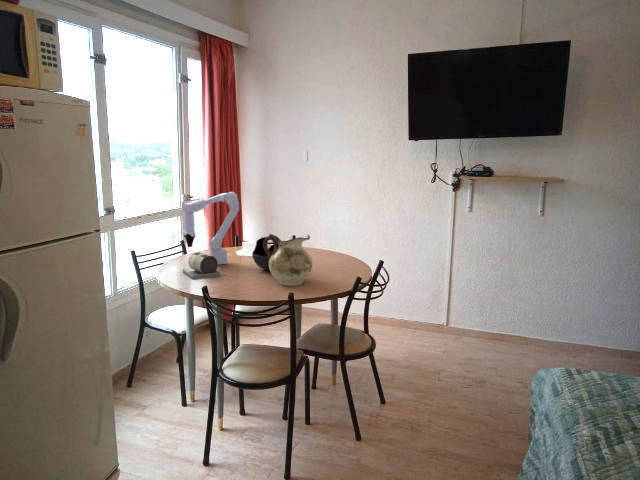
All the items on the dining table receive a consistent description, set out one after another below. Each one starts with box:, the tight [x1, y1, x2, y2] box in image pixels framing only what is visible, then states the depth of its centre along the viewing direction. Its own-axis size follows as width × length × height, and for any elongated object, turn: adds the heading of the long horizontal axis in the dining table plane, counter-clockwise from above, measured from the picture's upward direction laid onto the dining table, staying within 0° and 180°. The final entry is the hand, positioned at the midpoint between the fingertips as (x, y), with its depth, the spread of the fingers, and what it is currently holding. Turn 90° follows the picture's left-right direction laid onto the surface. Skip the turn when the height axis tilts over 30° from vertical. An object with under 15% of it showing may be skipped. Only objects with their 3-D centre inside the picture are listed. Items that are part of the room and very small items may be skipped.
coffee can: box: [188, 251, 219, 274], centre depth 250 cm, size 10×10×14 cm
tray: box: [182, 268, 221, 280], centre depth 249 cm, size 15×16×2 cm
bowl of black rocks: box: [252, 236, 279, 271], centre depth 257 cm, size 20×20×19 cm
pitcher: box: [263, 233, 313, 287], centre depth 232 cm, size 22×24×25 cm
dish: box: [236, 236, 263, 258], centre depth 300 cm, size 25×25×11 cm
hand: (189, 246), depth 269 cm, fingers closed
